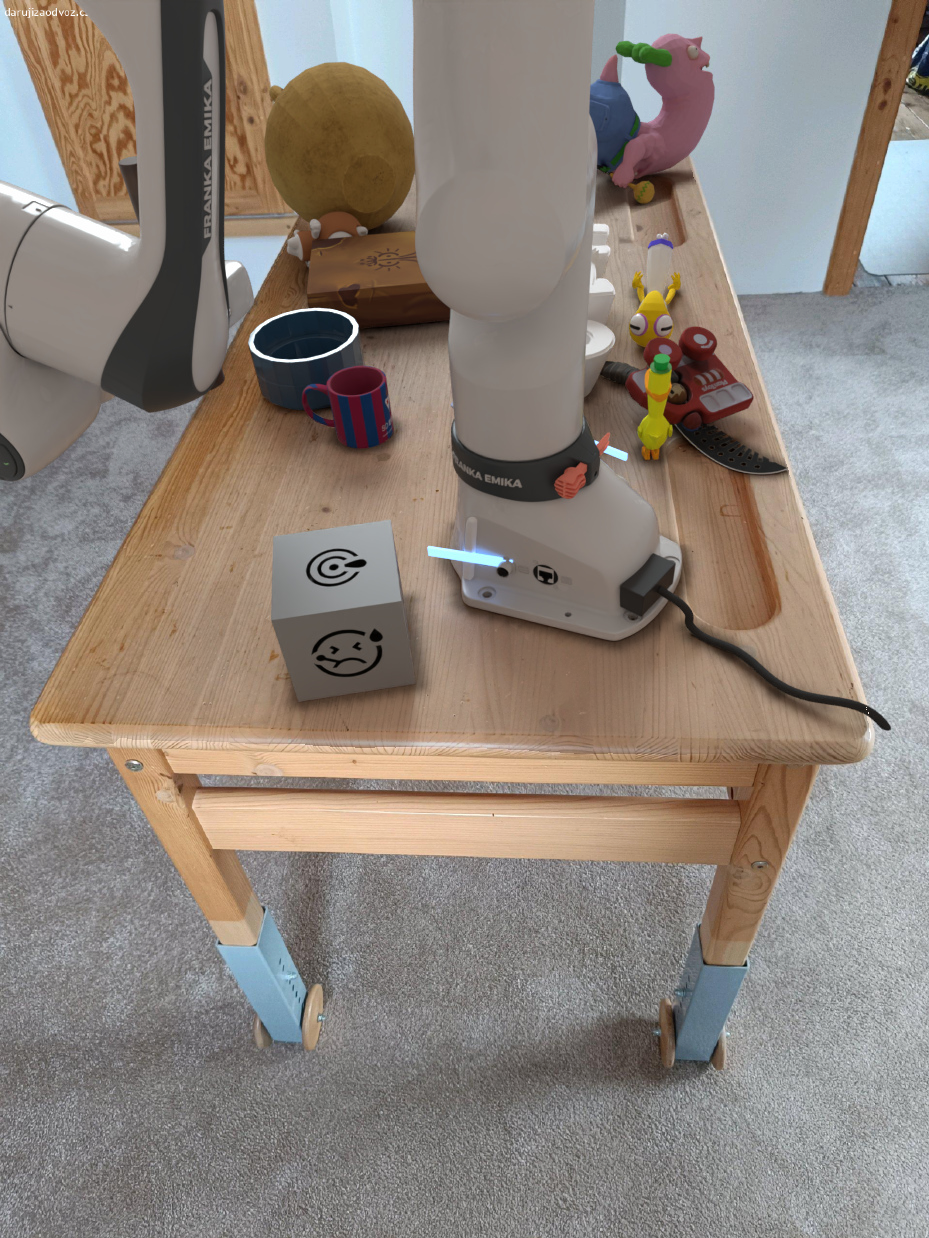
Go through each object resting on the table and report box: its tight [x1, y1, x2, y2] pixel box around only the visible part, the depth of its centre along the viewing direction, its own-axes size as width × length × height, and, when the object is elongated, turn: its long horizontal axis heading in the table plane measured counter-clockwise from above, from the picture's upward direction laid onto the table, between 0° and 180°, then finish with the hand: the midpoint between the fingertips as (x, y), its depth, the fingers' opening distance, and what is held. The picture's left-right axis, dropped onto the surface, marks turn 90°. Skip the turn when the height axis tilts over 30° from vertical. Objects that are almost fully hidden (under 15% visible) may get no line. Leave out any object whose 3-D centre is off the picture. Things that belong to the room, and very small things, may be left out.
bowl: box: [247, 308, 366, 411], centre depth 105 cm, size 13×13×7 cm
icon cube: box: [270, 519, 416, 703], centre depth 71 cm, size 10×10×10 cm
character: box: [628, 232, 682, 348], centre depth 110 cm, size 6×10×20 cm
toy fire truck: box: [624, 325, 755, 431], centre depth 94 cm, size 7×12×10 cm
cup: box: [302, 365, 395, 450], centre depth 97 cm, size 7×10×7 cm
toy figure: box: [636, 354, 673, 461], centre depth 88 cm, size 7×4×12 cm, turn 178°
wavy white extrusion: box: [584, 223, 616, 398], centre depth 106 cm, size 35×16×11 cm, turn 172°
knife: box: [599, 360, 789, 475], centre depth 96 cm, size 28×2×5 cm
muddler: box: [117, 155, 226, 392], centre depth 75 cm, size 4×4×20 cm
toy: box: [589, 33, 716, 205], centre depth 141 cm, size 24×24×30 cm
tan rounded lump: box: [263, 61, 415, 231], centre depth 135 cm, size 24×24×30 cm
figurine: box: [286, 211, 369, 268], centre depth 128 cm, size 9×9×12 cm
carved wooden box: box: [306, 230, 450, 330], centre depth 120 cm, size 23×19×6 cm
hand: (168, 254), depth 74 cm, fingers closed on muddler, 2 cm apart
